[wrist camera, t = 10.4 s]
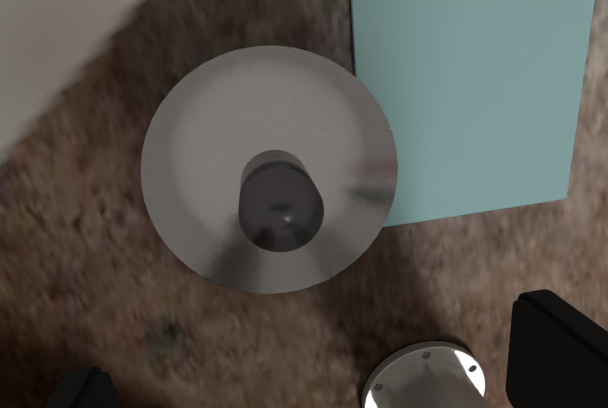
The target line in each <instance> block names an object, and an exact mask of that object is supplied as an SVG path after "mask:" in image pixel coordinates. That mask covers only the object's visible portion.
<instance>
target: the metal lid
mask: <svg viewBox="0 0 608 408" xmlns="http://www.w3.org/2000/svg"><path fill="white" fill-rule="evenodd" d="M140 170H141V186H142V191H143V196H144V201H145V205H146V207H147V210H148V213H149V216H150V219H151V221H152V223H153V224H154V226H155V228H156V230H157V232H158V234H159V235H160V237H161V238H162V240H163V241H164V242H165V244H166V245H167V247H168V248H169V249H170V250H171V251H172V252H173V253H174V254H175V255H176V256H177V258H179V259H180V260H181V261H182V262H183V263H184V264H186V265H187V266H188V267H189V268H191V269H192V270H194V271H195V272H197V273H198V274H200V275H201V276H203V277H205V278H207V279H209V280H211V281H213V282H215V283H217V284H220V285H223V286H225V287H228V288H231V289H235V290H240V291H244V292H252V293H260V294H273V293H284V292H292V291H296V290H301V289H305V288H308V287H311V286H314V285H316V284H319V283H321V282H323V281H325V280H327V279H330V278H332V277H333V276H335V275H337V274H338V273H340V272H341V271H343V270H344V269H346V268H347V267H348V266H350V265H351V264H352V263H353V262H355V261H356V260H357V259H358V258H359V257H360V256H361V255H362V254H363V253H364V252H365V251H366V250H367V249H368V247H369V246H370V245H371V244H372V242H373V241H374V240H375V238H376V237H377V235H378V234H379V232H380V230H381V229H382V227H383V225H384V223H385V221H386V219H387V217H388V214H389V212H390V210H391V206H392V203H393V200H394V196H395V191H396V185H397V172H398V163H397V152H396V146H395V142H394V137H393V133H392V131H391V128H390V125H389V123H388V120H387V118H386V116H385V114H384V112H383V110H382V109H381V107H380V105H379V103H378V102H377V101H376V99H375V98H374V97H373V95H372V94H371V92H370V91H369V90H368V89H367V88H366V87H365V86H364V85H363V84H362V83H361V82H360V81H359V80H358V79H357V78H356V77H355V76H354V75H352V74H351V73H350V72H348V71H347V70H346V69H345V68H343V67H342V66H340V65H338V64H336V63H335V62H333V61H331V60H329V59H328V58H325V57H323V56H320V55H318V54H315V53H313V52H310V51H306V50H302V49H298V48H294V47H285V46H275V45H273V46H254V47H248V48H243V49H238V50H234V51H231V52H228V53H225V54H222V55H220V56H217V57H215V58H213V59H211V60H209V61H207V62H205V63H203V64H202V65H200V66H199V67H197V68H196V69H194V70H193V71H192V72H190V73H189V74H187V75H186V76H185V77H184V78H183V79H182V80H181V81H180V82H179V83H178V84H177V85H176V86H174V87H173V88H172V90H171V91H170V92H169V94H168V95H167V96H166V97H165V99H164V100H163V101H162V102H161V104H160V106H159V108H158V109H157V111H156V113H155V115H154V116H153V118H152V121H151V123H150V126H149V128H148V131H147V133H146V137H145V141H144V145H143V149H142V157H141V169H140Z"/></svg>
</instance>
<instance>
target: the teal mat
mask: <svg viewBox="0 0 608 408" xmlns="http://www.w3.org/2000/svg"><path fill="white" fill-rule="evenodd" d="M593 7H594V0H351V13H352V31H353V48H354V66H355V77H356V78H357V79H358V80H359V81H360V82H361V83H362V84H363V85H364V86H365V87H366V88H367V89H368V90H369V91H370V92H371V94H372V95H373V97H374V98H375V99H376V101H377V102H378V103H379V105H380V107H381V109H382V110H383V112H384V114H385V116H386V118H387V120H388V123H389V125H390V128H391V131H392V133H393V137H394V142H395V146H396V152H397V163H398V172H397V185H396V191H395V196H394V200H393V203H392V206H391V210H390V212H389V214H388V217H387V219H386V221H385V223H384V225H383V227H388V226H394V225H400V224H407V223H413V222H419V221H426V220H432V219H439V218H445V217H451V216H458V215H464V214H471V213H477V212H483V211H490V210H496V209H502V208H509V207H515V206H522V205H528V204H534V203H541V202H547V201H553V200H560V199H566V196H567V189H568V182H569V175H570V168H571V161H572V154H573V147H574V140H575V133H576V126H577V119H578V112H579V105H580V98H581V91H582V84H583V77H584V70H585V63H586V56H587V49H588V42H589V35H590V28H591V21H592V14H593Z"/></svg>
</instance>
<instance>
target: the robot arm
mask: <svg viewBox="0 0 608 408" xmlns="http://www.w3.org/2000/svg"><path fill="white" fill-rule="evenodd" d="M484 390H485V377H484V373H483V370H482V368H481V366H480V365H479V363H478V362H477V361H476V359H475V358H474V357H473V356H472V355H471V353H470V352H468V351H467V350H466V349H464V348H463V347H461V346H458V345H456V344H454V343H449V342H444V341H428V342H421V343H417V344H413V345H410V346H407V347H405V348H403V349H401V350H399V351H397V352H395V353H393V354H392V355H390V356H389V357H387V358H386V359H385V360H384V361H383V362H382V363H380V364H379V365H378V366H377V367H376V369H375V370H374V371H373V372H372V374H371V375H370V377H369V378H368V380H367V382H366V384H365V387H364V390H363V394H362V408H491V407H490V406H489V404H488V403H487V402H486V400H485V399H484V397H483V395H484ZM506 393H507V397H508V399H509V401H510V403H511V404H512V406H513V407H514V408H608V332H607V331H606V330H604V329H603V328H602V327H600V326H599V325H597V324H596V323H595V322H593V321H592V320H590V319H589V318H588V317H586V316H585V315H584V314H582V313H581V312H579V311H578V310H577V309H575V308H574V307H572V306H571V305H570V304H568V303H567V302H566V301H564V300H563V299H561V298H560V297H559V296H557V295H556V294H555V293H553V292H552V291H550V290H547V289H542V290H537V291H531V292H525V293H522V294H520V295H519V297H518V300H517V301H515V302H514V303H513V308H512V319H511V331H510V343H509V354H508V366H507V378H506ZM43 408H121V405H120V403H119V400H118V397H117V394H116V391H115V388H114V385H113V383H112V380H111V377H110V375H109V374H108V373H107V372H103V373H102V371H101V369H100V368H98V367H91V368H85V369H79V370H73V371H69V372H67V373H66V374H65V375H64V376H63V377H62V379H61V381H60V382H59V384H58V385H57V387H56V388H55V390H54V392H53V393H52V395H51V396H50V398H49V399H48V401H47V403H46V404H45V406H44V407H43Z"/></svg>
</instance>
